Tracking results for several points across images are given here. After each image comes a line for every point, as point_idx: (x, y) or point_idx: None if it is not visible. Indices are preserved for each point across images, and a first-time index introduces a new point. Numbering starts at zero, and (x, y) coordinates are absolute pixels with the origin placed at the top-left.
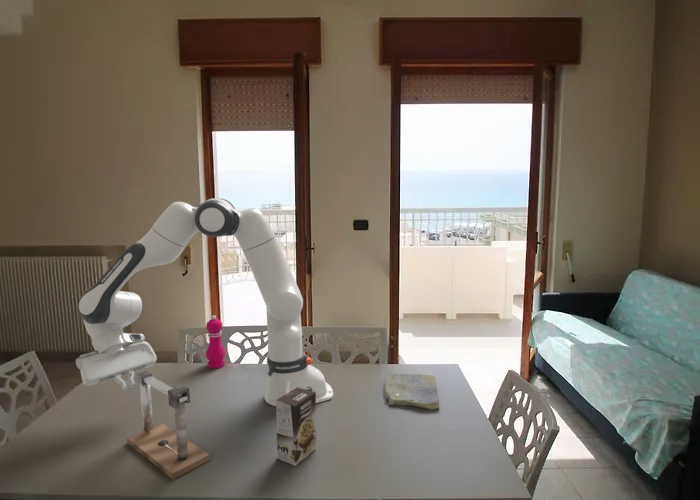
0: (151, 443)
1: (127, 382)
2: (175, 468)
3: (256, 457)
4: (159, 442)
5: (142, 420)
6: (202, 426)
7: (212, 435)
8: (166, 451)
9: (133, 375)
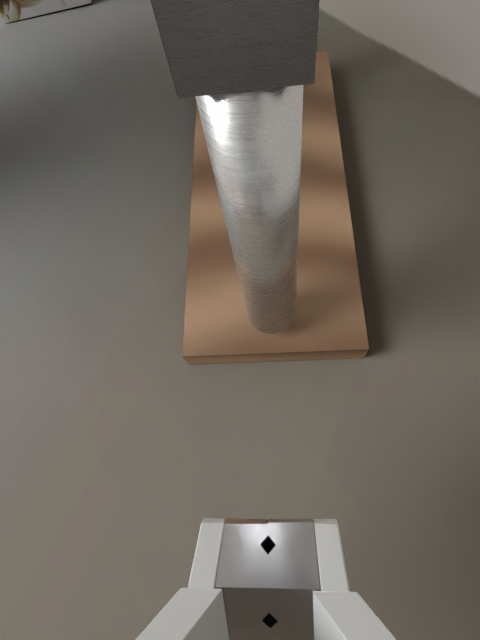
0: (302, 229)
1: (282, 561)
2: None
3: (116, 31)
4: None
5: (296, 288)
6: (83, 252)
7: (106, 179)
8: None
9: (146, 635)
